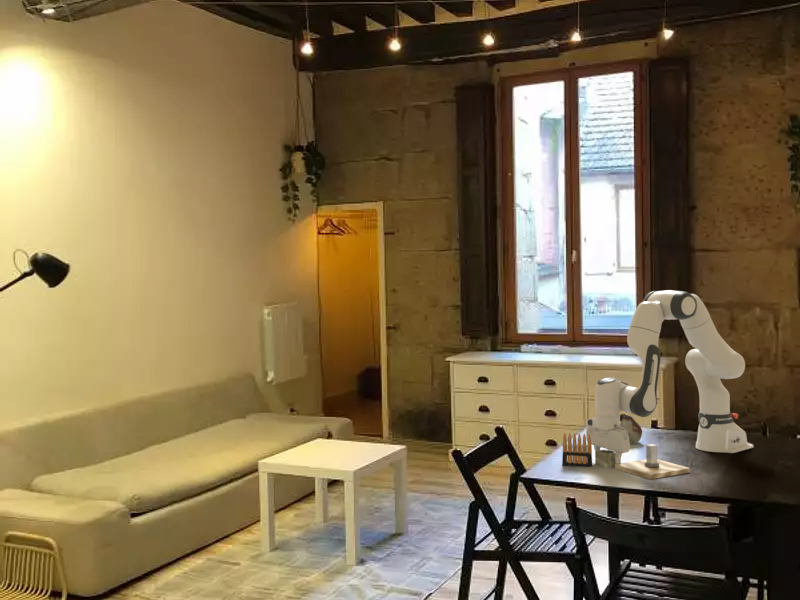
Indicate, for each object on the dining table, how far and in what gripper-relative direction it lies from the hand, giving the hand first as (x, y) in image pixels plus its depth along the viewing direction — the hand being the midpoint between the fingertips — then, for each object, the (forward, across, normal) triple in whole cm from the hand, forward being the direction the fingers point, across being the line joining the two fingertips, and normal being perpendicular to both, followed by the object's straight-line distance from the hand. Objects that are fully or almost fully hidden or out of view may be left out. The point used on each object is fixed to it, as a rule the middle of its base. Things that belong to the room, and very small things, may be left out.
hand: (607, 460), depth 317 cm
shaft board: (+2, -14, -8) cm, 16 cm away
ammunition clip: (+2, +5, +10) cm, 11 cm away
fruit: (+2, +25, -32) cm, 41 cm away
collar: (+2, 0, 0) cm, 2 cm away
